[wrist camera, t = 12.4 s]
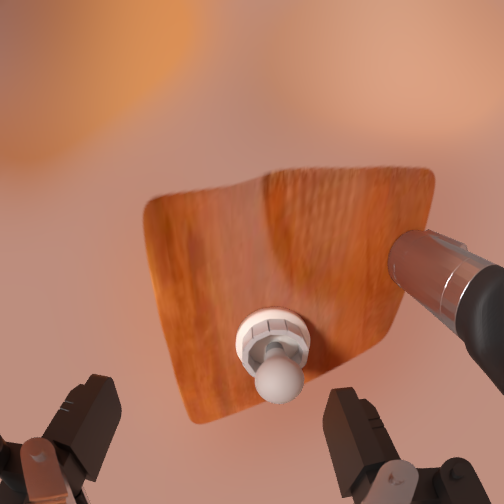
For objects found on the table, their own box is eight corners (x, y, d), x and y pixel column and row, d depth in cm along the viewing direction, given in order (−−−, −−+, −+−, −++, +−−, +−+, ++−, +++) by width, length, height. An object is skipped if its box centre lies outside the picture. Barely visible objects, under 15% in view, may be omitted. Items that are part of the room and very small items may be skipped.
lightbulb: (298, 355, 41) (312, 405, 31) (259, 365, 42) (263, 418, 31) (289, 322, 40) (302, 371, 29) (247, 334, 40) (248, 385, 30)
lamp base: (290, 294, 41) (296, 309, 36) (317, 348, 44) (325, 366, 39) (222, 325, 42) (220, 344, 37) (256, 375, 45) (257, 395, 40)
